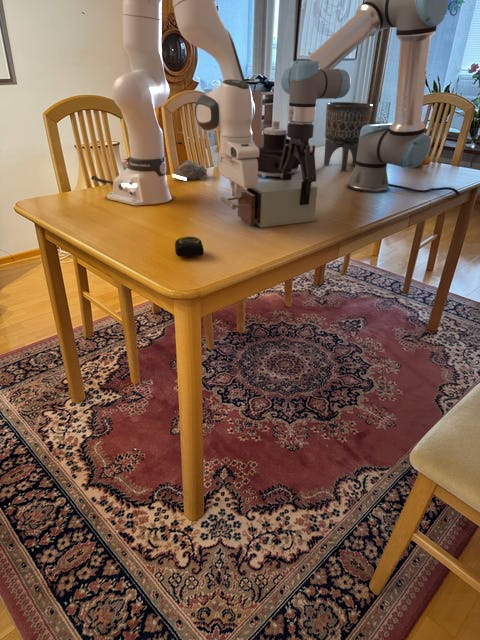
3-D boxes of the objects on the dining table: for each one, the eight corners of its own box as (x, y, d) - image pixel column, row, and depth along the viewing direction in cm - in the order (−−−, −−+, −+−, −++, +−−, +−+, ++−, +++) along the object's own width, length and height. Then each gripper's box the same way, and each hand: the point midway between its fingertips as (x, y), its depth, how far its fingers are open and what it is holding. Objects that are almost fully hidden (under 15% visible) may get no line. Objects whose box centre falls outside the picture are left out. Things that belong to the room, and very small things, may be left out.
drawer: (231, 227, 131) (232, 197, 126) (219, 217, 138) (219, 189, 134) (301, 218, 139) (304, 190, 134) (286, 210, 146) (288, 183, 142)
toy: (405, 159, 210) (400, 152, 223) (408, 173, 213) (402, 165, 226) (431, 151, 207) (424, 145, 219) (433, 165, 210) (426, 158, 222)
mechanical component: (240, 120, 182) (283, 115, 202) (239, 174, 192) (280, 164, 212) (283, 126, 170) (325, 120, 190) (280, 183, 180) (320, 171, 200)
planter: (313, 167, 208) (319, 103, 195) (331, 160, 222) (338, 101, 209) (353, 173, 199) (362, 107, 185) (369, 166, 213) (379, 104, 199)
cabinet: (260, 227, 134) (262, 192, 128) (245, 216, 142) (246, 183, 137) (314, 220, 140) (317, 187, 135) (296, 211, 149) (299, 178, 144)
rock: (199, 173, 191) (199, 157, 188) (212, 178, 186) (211, 161, 182) (172, 178, 184) (171, 161, 180) (185, 183, 178) (184, 165, 175)
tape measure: (175, 260, 111) (175, 246, 109) (175, 250, 116) (174, 236, 115) (203, 259, 112) (203, 245, 110) (201, 249, 117) (201, 235, 116)
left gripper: (212, 141, 132) (213, 189, 139) (240, 153, 116) (240, 206, 123) (232, 140, 134) (232, 187, 141) (262, 151, 118) (261, 204, 125)
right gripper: (270, 118, 137) (267, 191, 148) (310, 128, 119) (303, 211, 130) (292, 117, 140) (287, 189, 151) (335, 127, 121) (325, 208, 132)
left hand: (236, 196), depth 132 cm, fingers closed
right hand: (294, 199), depth 140 cm, fingers closed on cabinet, 11 cm apart
